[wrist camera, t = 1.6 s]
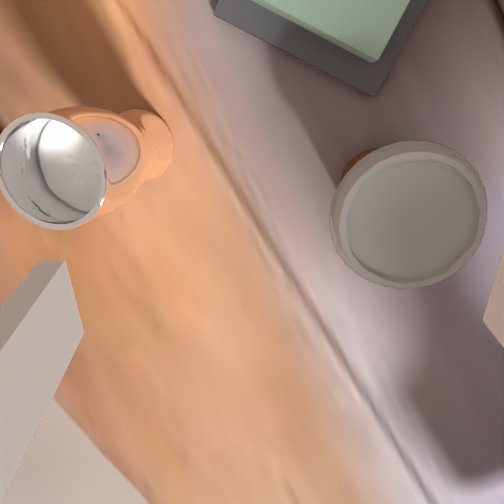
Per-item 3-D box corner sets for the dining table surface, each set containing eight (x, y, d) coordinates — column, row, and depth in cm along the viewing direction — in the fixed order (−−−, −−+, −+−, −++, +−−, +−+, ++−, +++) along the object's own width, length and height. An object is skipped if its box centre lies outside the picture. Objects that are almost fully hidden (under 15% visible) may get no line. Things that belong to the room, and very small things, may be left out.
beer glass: (110, 187, 40) (8, 237, 26) (94, 107, 38) (-27, 114, 24) (184, 181, 39) (121, 230, 25) (173, 99, 37) (95, 101, 23)
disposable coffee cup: (344, 253, 40) (362, 315, 29) (304, 156, 37) (307, 182, 26) (449, 213, 38) (513, 264, 26) (415, 108, 35) (470, 113, 24)
